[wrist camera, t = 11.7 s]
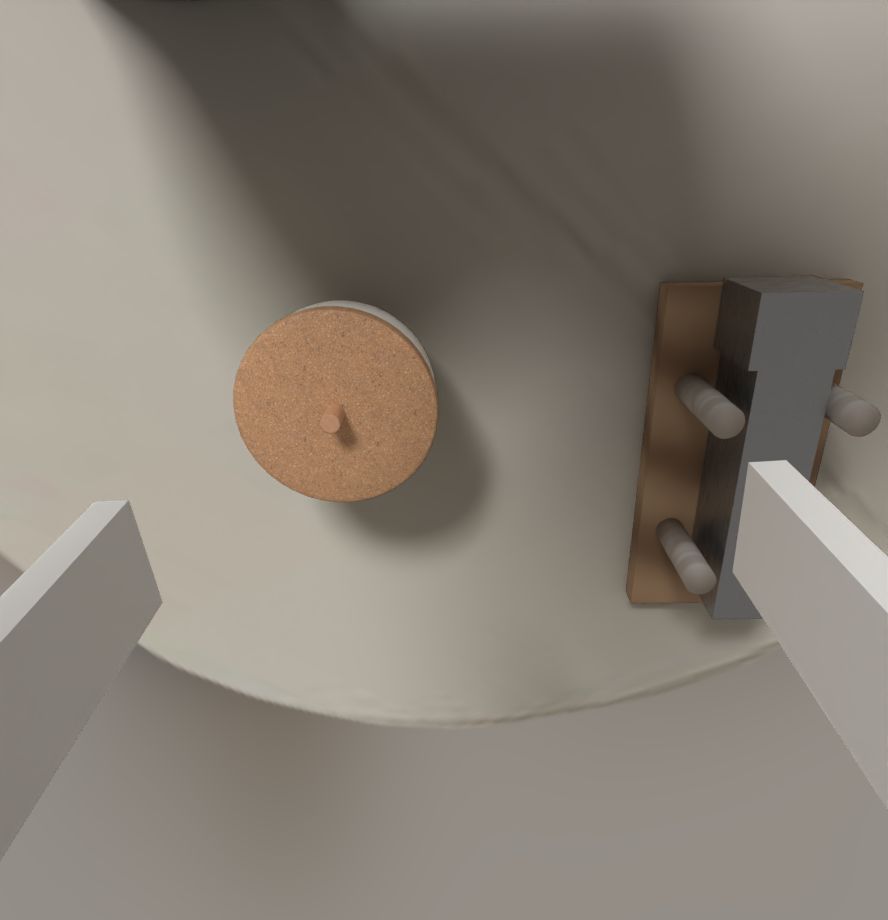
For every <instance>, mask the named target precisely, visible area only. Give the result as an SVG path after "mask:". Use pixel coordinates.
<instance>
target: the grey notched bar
mask: <svg viewBox="0 0 888 920" xmlns="http://www.w3.org/2000/svg"><path fill="white" fill-rule="evenodd" d="M863 292H864V291H862V290H859V289H855V288H852V287H849V286H846V285H842V284H839V283H836V282H833V281H829V280H826V279H823V278H820V277H816V276H813V275H809V276H761V277H724V278H723V284H722V291H721V298H720V304H719V311H718V318H717V324H716V331H715V337H714V344H713V347H714V348H716V349H717V350H719V351H720V352H721V354H720V360H719V366H718V373H717V379H716V385H715V389H716V390H718V391H719V392H720V393H721V394H722V395H723V396H725V397H726V398H727V399H728V400H729V401H730V402H732V403H733V404H734V405H735V406H736V407H738V408H739V409H740V410H741V411H742V412H743V414H744V416H745V424H744V427H743V429H742V430H741V431H740V432H739V433H738V434H737V435H736V436H734V437H732V438H728V439H722V438H718V437H716V436H715V435H714V434H713V433H712V432H711V431H710V430H708V437H707V443H706V449H705V456H704V462H703V468H702V475H701V481H700V488H699V494H698V500H697V507H696V513H695V519H694V526H693V532H692V540H693V541H694V543H695V545H696V546H697V548H698V549H699V551H700V552H701V554H702V555H703V557H704V559H705V560H706V562H707V563H708V565H709V566H710V568H711V569H712V571H713V573H714V574H715V576H716V584H715V586H714V587H713V588H712V589H711V590H710V591H709V592H707V593H704V594H698V595H699V597H700V598H701V600H702V602H703V604H704V605H705V607H706V609H707V611H708V612H709V614H710V616H711V617H712V619H760V618H762V616H761V615H760V613H759V612H758V610H757V609H756V607H755V606H754V604H753V603H752V601H751V599H750V598H749V596H748V595H747V593H746V592H745V590H744V589H743V587H742V586H741V584H740V583H739V581H738V580H737V578H736V576H735V575H734V573H733V572H732V571H733V564H734V558H735V551H736V544H737V537H738V530H739V524H740V517H741V510H742V503H743V496H744V489H745V483H746V476H747V469H748V462H763V461H780V460H787V461H788V462H789V463H790V464H791V465H792V466H793V467H794V468H795V469H796V470H797V471H798V472H799V473H800V474H801V475H802V476H803V477H804V478H805V479H807V480H808V481H809V480H810V475H811V471H812V467H813V463H814V458H815V454H816V450H817V446H818V441H819V437H820V433H821V428H822V424H823V420H824V416H825V411H826V407H827V403H828V398H829V394H830V390H831V386H832V381H833V377H834V373H835V369H845V367H846V363H847V359H848V355H849V350H850V346H851V342H852V338H853V334H854V330H855V325H856V321H857V317H858V313H859V309H860V305H861V300H862V296H863Z"/></svg>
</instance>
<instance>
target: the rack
mask: <svg viewBox="0 0 888 920" xmlns="http://www.w3.org/2000/svg"><path fill="white" fill-rule="evenodd" d="M828 280H829V281H833V282H836V283H839V284H842V285H846V286H849V287H852V288H855V289H859V290H862V287H863V283H860V282H857V281H854V280H850V279H828ZM722 284H723V282H683V283H661V284H660V292H659V301H658V310H657V319H656V328H655V337H654V346H653V354H652V363H651V372H650V381H649V390H648V399H647V408H646V417H645V425H644V434H643V443H642V452H641V461H640V470H639V479H638V487H637V496H636V505H635V514H634V523H633V532H632V541H631V550H630V558H629V567H628V576H627V585H626V592H627V595H628V597H629V600H630V602H631V603H699V602H702V600H701V598H700V597H699V595H698V594H704V593H707V592H709V591H710V590H711V589H712V588H713V587H714V586H715V584H716V576H715V574H714V573H713V571H712V569H711V568H710V566H709V565H708V563H707V562H706V560H705V559H704V557H703V555H702V554H701V552H700V551H699V549H698V548H697V546H696V545H695V543H694V541H693V540H692V532H693V526H694V519H695V513H696V507H697V500H698V494H699V488H700V481H701V475H702V468H703V462H704V456H705V449H706V443H707V437H708V430H710V431H711V432H712V433H713V434H714V435H715V436H716V437H718V438H722V439H728V438H732V437H734V436H736V435H737V434H738V433H739V432H740V431H741V430H742V429H743V427H744V424H745V416H744V414H743V412H742V411H741V410H740V409H739V408H738V407H736V406H735V405H734V404H733V403H732V402H730V401H729V400H728V399H727V398H726V397H725V396H723V395H722V394H721V393H720V392H719V391H718V390H716V389H715V385H716V379H717V373H718V366H719V360H720V354H721V352H720V351H719V350H717V349H716V348H714V347H713V344H714V337H715V331H716V324H717V318H718V311H719V304H720V298H721V291H722ZM842 370H843V369H835V373H834V377H833V381H832V386H831V390H830V394H829V398H828V403H827V407H826V411H825V416H824V420H823V424H822V428H821V433H820V437H819V441H818V446H817V450H816V454H815V458H814V463H813V467H812V471H811V475H810V480H809V482H810V483H811V484H812V485H813V486H814V487H815V484H816V479H817V475H818V471H819V467H820V463H821V458H822V454H823V450H824V446H825V442H826V437H827V433H828V429H829V425H830V421H831V422H832V423H834V424H835V425H837V426H838V427H840V428H841V429H843V430H844V431H846V432H847V433H849V434H850V435H852V436H856V437H860V436H865V435H867V434H869V433H871V432H872V431H873V430H875V429H876V427H877V426H878V424H879V422H880V418H881V415H880V411H879V410H878V408H877V407H875V406H874V405H872V404H870V403H868V402H867V401H865V400H863V399H861V398H860V397H858V396H856V395H854V394H853V393H851V392H849V391H847V390H845V389H844V388H842V387H840V386H839V383H840V379H841V375H842Z"/></svg>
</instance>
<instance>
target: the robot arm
mask: <svg viewBox="0 0 888 920" xmlns="http://www.w3.org/2000/svg"><path fill="white" fill-rule="evenodd" d="M170 1H196V0H170ZM732 572H733V573H734V575H735V576H736V578H737V580H738V581H739V583H740V584H741V586H742V587H743V589H744V590H745V592H746V593H747V595H748V596H749V598H750V599H751V601H752V603H753V604H754V606H755V607H756V609H757V610H758V612H759V613H760V615H761V616H762V618H763V619H764V621H765V622H766V624H767V626H768V627H769V629H770V630H771V632H772V633H773V635H774V636H775V638H776V639H777V641H778V642H779V644H780V645H781V647H782V649H783V650H784V652H785V653H786V655H787V656H788V658H789V659H790V661H791V662H792V664H793V665H794V667H795V669H796V670H797V671H798V673H799V675H800V676H801V678H802V679H803V681H804V682H805V684H806V685H807V687H808V688H809V690H810V691H811V693H812V695H813V696H814V698H815V699H816V701H817V702H818V704H819V705H820V707H821V708H822V710H823V711H824V713H825V715H826V716H827V718H828V719H829V721H830V722H831V724H832V725H833V727H834V728H835V730H836V731H837V733H838V734H839V736H840V737H841V739H842V741H843V742H844V744H845V745H846V747H847V748H848V750H849V751H850V753H851V754H852V756H853V757H854V759H855V761H856V762H857V764H858V765H859V767H860V768H861V770H862V771H863V773H864V774H865V776H866V777H867V779H868V780H869V782H870V784H871V785H872V787H873V788H874V790H875V791H876V793H877V794H878V796H879V797H880V799H881V800H882V802H883V803H884V805H885V807H886V808H887V810H888V557H887V556H886V555H885V554H884V553H883V552H882V551H881V550H880V549H879V548H878V547H877V546H876V545H875V544H874V543H873V542H871V541H870V540H869V539H868V538H867V537H866V536H865V535H864V534H863V533H862V532H861V531H860V530H859V529H858V528H857V527H856V526H855V525H854V524H853V523H852V522H851V521H849V520H848V519H847V518H846V517H845V516H844V515H843V514H842V513H841V512H840V511H839V510H838V509H837V508H836V507H835V506H834V505H833V504H832V503H831V502H830V501H829V500H827V499H826V498H825V497H824V496H823V495H822V494H821V493H820V492H819V491H818V490H817V489H816V488H815V487H814V486H813V485H812V484H811V483H810V482H809V481H808V480H807V479H805V478H804V477H803V476H802V475H801V474H800V473H799V472H798V471H797V470H796V469H795V468H794V467H793V466H792V465H791V464H790V463H789V462H788V461H787V460H780V461H763V462H748V469H747V476H746V483H745V489H744V496H743V503H742V510H741V517H740V524H739V530H738V537H737V544H736V551H735V558H734V564H733V571H732ZM161 604H162V599H161V596H160V593H159V590H158V587H157V584H156V581H155V578H154V575H153V572H152V569H151V566H150V563H149V560H148V557H147V554H146V550H145V547H144V544H143V541H142V538H141V535H140V532H139V529H138V526H137V523H136V520H135V517H134V514H133V511H132V508H131V505H130V502H129V500H118V501H102V502H94V503H93V504H92V505H91V506H90V507H89V508H88V509H87V510H86V511H85V512H84V513H83V514H82V515H81V516H80V517H79V518H78V519H77V520H76V521H75V522H74V523H73V524H72V525H71V526H70V527H69V528H68V529H67V530H66V531H65V532H64V533H63V534H62V535H61V536H60V537H59V538H58V539H57V540H56V541H55V542H54V543H53V544H52V545H51V546H50V547H49V548H48V549H47V550H46V551H45V552H44V553H43V554H42V555H41V556H40V557H39V558H38V559H37V560H36V561H35V562H34V563H33V564H32V565H31V566H30V567H29V568H28V569H27V570H26V571H25V572H24V573H23V574H22V575H21V576H20V577H19V579H17V580H16V581H15V583H13V584H12V585H11V586H10V587H9V589H8V590H7V591H6V592H5V593H4V594H3V595H2V596H1V597H0V861H1V859H2V858H3V856H4V854H5V853H6V851H7V850H8V848H9V846H10V845H11V843H12V842H13V840H14V839H15V837H16V835H17V834H18V832H19V831H20V829H21V827H22V826H23V824H24V822H25V821H26V819H27V818H28V816H29V814H30V813H31V811H32V810H33V808H34V807H35V805H36V803H37V802H38V800H39V798H40V797H41V795H42V794H43V792H44V791H45V789H46V787H47V786H48V784H49V782H50V781H51V779H52V778H53V776H54V775H55V773H56V771H57V770H58V768H59V766H60V765H61V764H62V762H63V760H64V759H65V757H66V756H67V754H68V752H69V751H70V749H71V748H72V746H73V744H74V743H75V741H76V740H77V738H78V736H79V735H80V733H81V732H82V730H83V728H84V727H85V725H86V724H87V722H88V720H89V719H90V717H91V715H92V714H93V712H94V711H95V709H96V708H97V706H98V704H99V703H100V701H101V699H102V698H103V696H104V695H105V693H106V692H107V690H108V689H109V687H110V685H111V684H112V682H113V680H114V679H115V677H116V675H117V674H118V672H119V671H120V669H121V668H122V666H123V665H124V663H125V661H126V660H127V658H128V657H129V655H130V653H131V652H132V650H133V649H134V647H135V645H136V644H137V642H138V641H139V639H140V637H141V636H142V634H143V633H144V631H145V629H146V628H147V626H148V625H149V623H150V621H151V620H152V618H153V617H154V615H155V614H156V612H157V610H158V609H159V607H160V606H161Z"/></svg>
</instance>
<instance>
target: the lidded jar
mask: <svg viewBox="0 0 888 920" xmlns="http://www.w3.org/2000/svg"><path fill="white" fill-rule="evenodd" d="M234 412H235V418H236V422H237V425H238V428H239V431H240V434H241V437H242V439H243V441H244V442H245V444H246V446H247V448H248V450H249V451H250V453H251V454H252V455H253V457H254V458H255V460H256V461H257V462H258V463H259V464H260V465H261V466H262V467H263V468H264V470H265V471H266V472H267V473H269V474H270V475H271V476H272V477H274V478H275V479H276V480H277V481H279V482H280V483H282V484H283V485H285V486H287V487H289V488H290V489H292V490H294V491H296V492H299V493H301V494H304V495H306V496H309V497H313V498H316V499H320V500H326V501H334V502H353V501H360V500H366V499H370V498H373V497H376V496H379V495H382V494H384V493H386V492H388V491H390V490H392V489H394V488H396V487H397V486H399V485H400V484H402V483H403V482H404V481H406V480H407V479H408V478H409V477H410V476H411V475H412V474H413V473H414V472H415V471H416V470H417V469H418V468H419V466H420V465H421V464H422V462H423V461H424V460H425V458H426V456H427V454H428V452H429V450H430V448H431V446H432V443H433V440H434V437H435V434H436V429H437V422H438V396H437V391H436V384H435V379H434V374H433V370H432V367H431V365H430V362H429V359H428V357H427V354H426V353H425V351H424V349H423V347H422V345H421V344H420V342H419V341H418V339H417V338H416V337H415V336H414V334H413V333H412V332H411V331H410V330H409V329H408V328H407V327H406V326H405V325H404V324H403V323H402V322H401V321H399V320H398V319H396V318H395V317H393V316H392V315H390V314H389V313H387V312H385V311H383V310H381V309H379V308H377V307H375V306H371V305H368V304H365V303H361V302H355V301H347V300H335V301H326V302H321V303H316V304H313V305H310V306H307V307H304V308H302V309H299V310H297V311H295V312H294V313H292V314H290V315H288V316H286V317H284V318H283V319H281V320H279V321H277V322H276V323H274V324H273V325H272V326H270V327H269V328H268V329H267V330H266V331H264V332H263V333H262V334H261V335H260V336H259V337H258V338H257V339H256V340H255V342H254V343H253V344H252V345H251V346H250V347H249V349H248V351H247V352H246V354H245V356H244V358H243V359H242V361H241V364H240V366H239V369H238V372H237V375H236V379H235V385H234Z"/></svg>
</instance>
